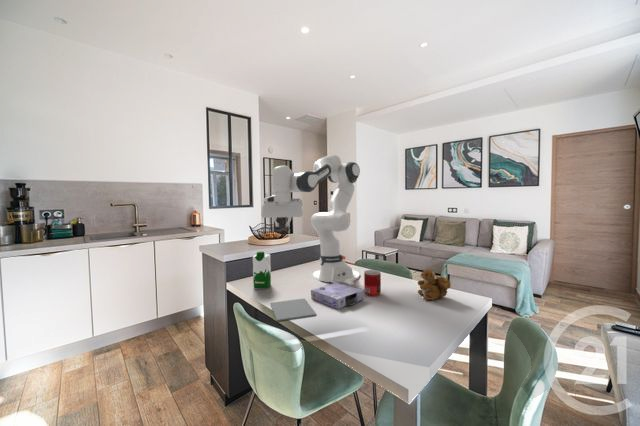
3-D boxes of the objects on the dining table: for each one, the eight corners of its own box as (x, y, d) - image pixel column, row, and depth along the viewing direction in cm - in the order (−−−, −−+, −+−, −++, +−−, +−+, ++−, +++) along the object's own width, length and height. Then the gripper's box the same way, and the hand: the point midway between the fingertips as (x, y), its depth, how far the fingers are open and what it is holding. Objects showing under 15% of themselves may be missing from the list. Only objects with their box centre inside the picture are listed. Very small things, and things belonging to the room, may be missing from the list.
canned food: (380, 296, 128) (380, 274, 128) (364, 295, 130) (363, 273, 129) (380, 291, 136) (380, 270, 135) (364, 290, 137) (364, 269, 137)
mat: (304, 299, 126) (304, 298, 126) (316, 315, 108) (316, 314, 108) (270, 304, 121) (270, 302, 121) (276, 321, 103) (276, 319, 103)
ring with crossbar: (322, 273, 181) (322, 267, 181) (363, 277, 171) (363, 270, 171) (305, 285, 155) (305, 277, 155) (353, 290, 145) (353, 282, 145)
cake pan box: (339, 311, 113) (365, 299, 124) (339, 299, 112) (365, 288, 124) (310, 300, 127) (336, 290, 139) (309, 289, 126) (335, 280, 138)
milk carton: (251, 291, 140) (250, 253, 139) (257, 285, 149) (256, 250, 148) (268, 291, 139) (267, 253, 138) (272, 286, 148) (272, 250, 147)
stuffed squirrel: (416, 292, 133) (416, 266, 133) (446, 293, 131) (446, 267, 130) (420, 299, 124) (419, 271, 123) (452, 301, 121) (452, 272, 121)
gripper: (300, 198, 138) (301, 225, 138) (260, 198, 132) (261, 226, 132) (303, 198, 132) (304, 226, 132) (261, 198, 126) (262, 227, 126)
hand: (282, 226), depth 132 cm, fingers open, 4 cm apart
